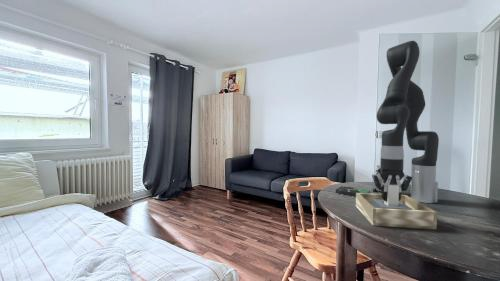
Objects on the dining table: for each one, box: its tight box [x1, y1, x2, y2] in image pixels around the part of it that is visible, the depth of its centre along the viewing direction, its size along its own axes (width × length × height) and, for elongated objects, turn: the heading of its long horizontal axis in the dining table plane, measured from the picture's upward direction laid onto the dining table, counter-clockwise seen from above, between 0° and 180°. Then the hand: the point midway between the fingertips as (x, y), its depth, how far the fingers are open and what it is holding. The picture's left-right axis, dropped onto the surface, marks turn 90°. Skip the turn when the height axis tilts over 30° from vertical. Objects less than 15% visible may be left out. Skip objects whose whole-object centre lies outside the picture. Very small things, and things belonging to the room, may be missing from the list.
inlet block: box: [372, 199, 412, 210], centre depth 85 cm, size 10×10×4 cm
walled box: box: [355, 193, 438, 231], centre depth 85 cm, size 20×20×6 cm
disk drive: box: [335, 185, 371, 198], centre depth 116 cm, size 10×3×15 cm
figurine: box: [372, 164, 383, 192], centre depth 116 cm, size 9×12×15 cm
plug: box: [384, 183, 399, 206], centre depth 85 cm, size 4×4×13 cm
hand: (390, 200), depth 85 cm, fingers closed on plug, 3 cm apart
